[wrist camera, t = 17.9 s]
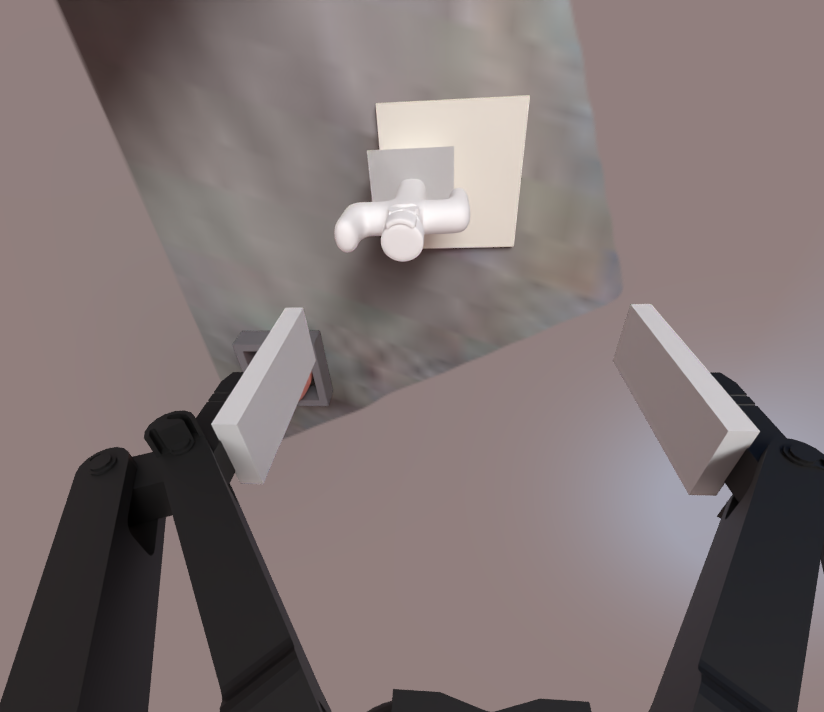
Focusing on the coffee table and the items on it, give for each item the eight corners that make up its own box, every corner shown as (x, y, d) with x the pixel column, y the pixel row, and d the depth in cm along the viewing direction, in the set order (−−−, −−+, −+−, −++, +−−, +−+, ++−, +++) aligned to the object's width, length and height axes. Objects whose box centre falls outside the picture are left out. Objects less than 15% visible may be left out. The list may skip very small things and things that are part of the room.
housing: (242, 331, 50) (232, 344, 48) (319, 330, 49) (313, 344, 47) (263, 390, 56) (255, 405, 54) (333, 391, 55) (328, 406, 53)
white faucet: (463, 220, 40) (472, 290, 28) (370, 223, 40) (339, 292, 28) (465, 138, 35) (477, 178, 23) (360, 143, 36) (319, 185, 24)
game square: (376, 103, 35) (375, 103, 34) (528, 95, 34) (529, 95, 33) (388, 247, 42) (388, 249, 42) (512, 244, 41) (513, 246, 41)
